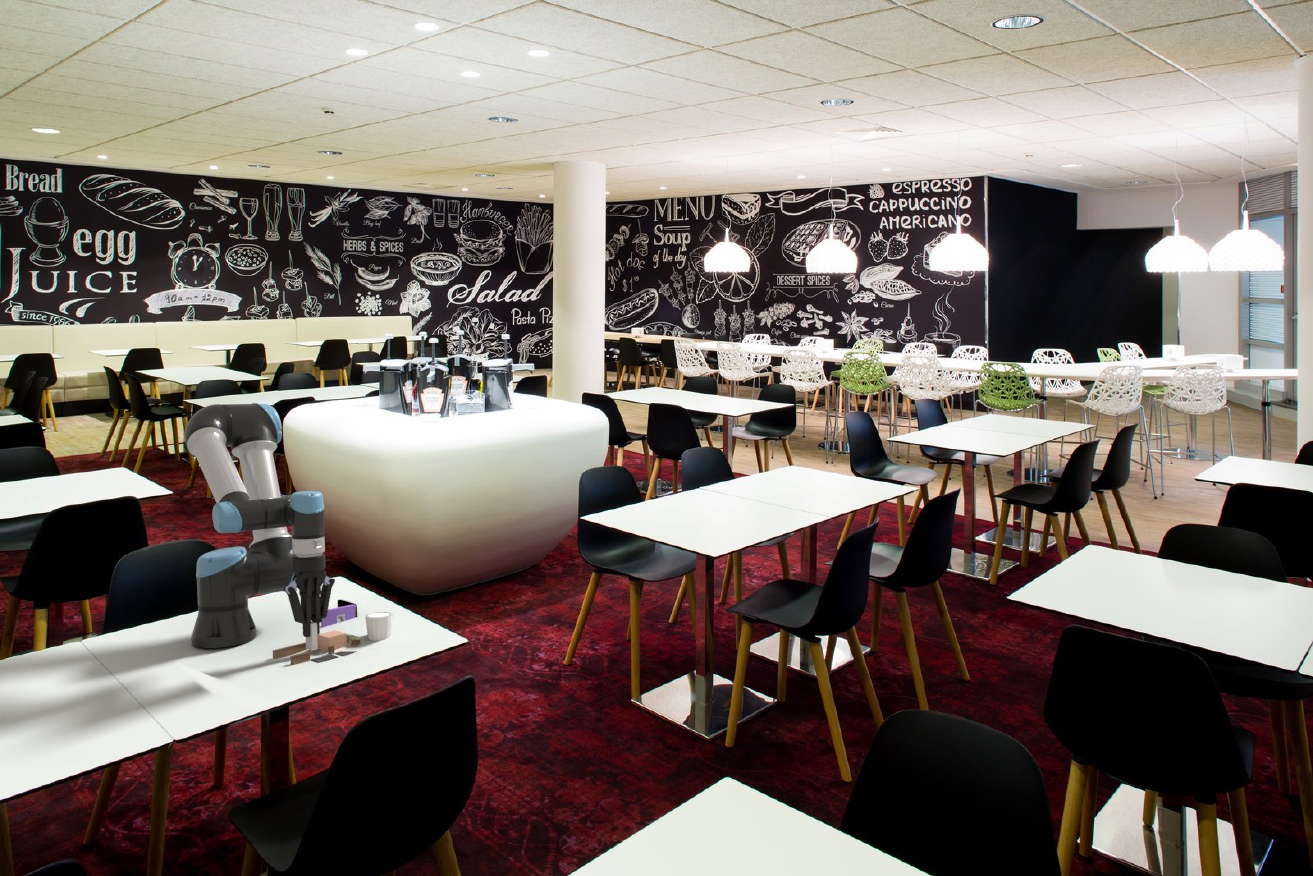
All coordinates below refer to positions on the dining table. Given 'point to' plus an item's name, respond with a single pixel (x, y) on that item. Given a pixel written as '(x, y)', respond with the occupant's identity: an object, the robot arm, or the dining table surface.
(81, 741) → the dining table surface
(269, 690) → the dining table surface
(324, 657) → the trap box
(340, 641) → the block
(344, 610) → the miniature room corner
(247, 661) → the dining table surface
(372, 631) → the white cup
